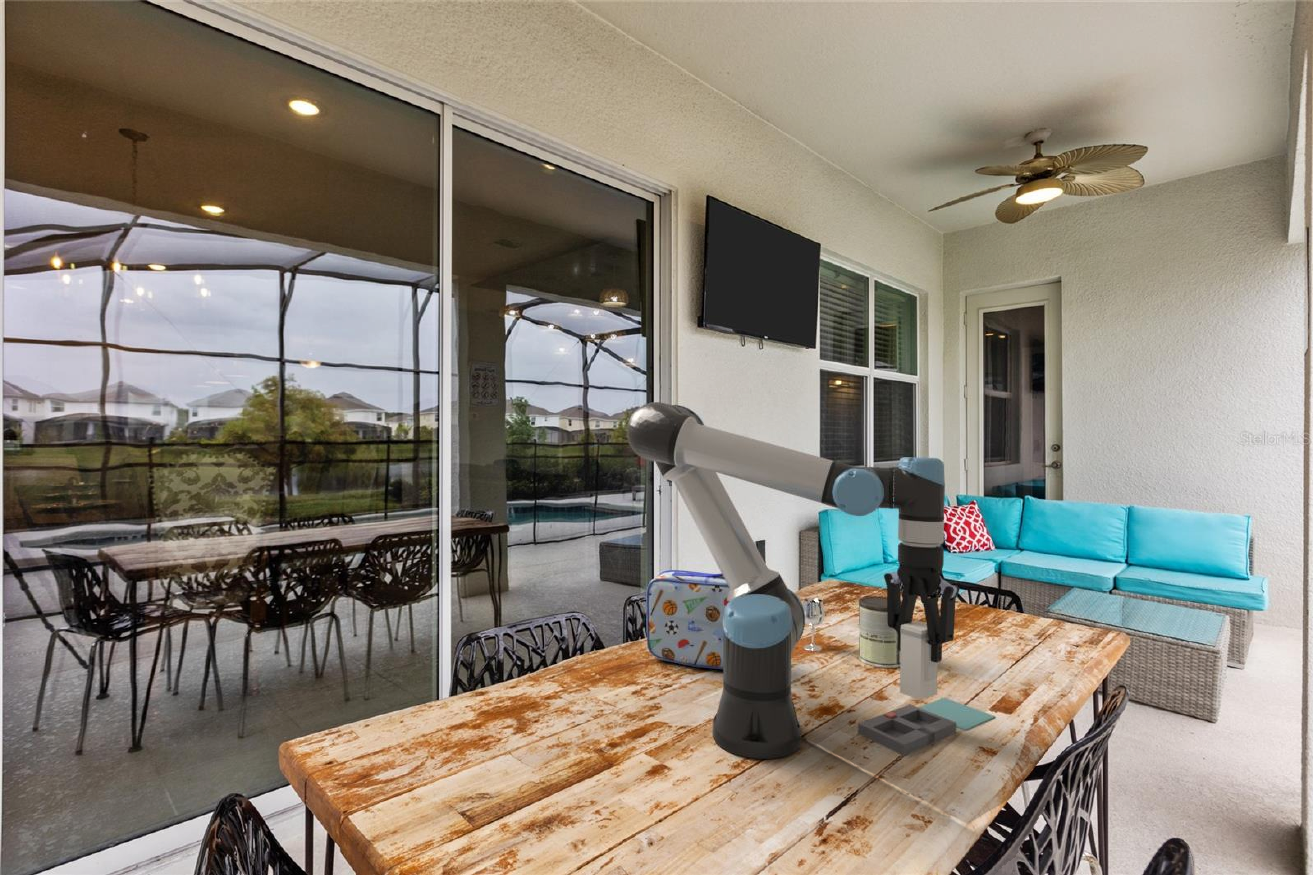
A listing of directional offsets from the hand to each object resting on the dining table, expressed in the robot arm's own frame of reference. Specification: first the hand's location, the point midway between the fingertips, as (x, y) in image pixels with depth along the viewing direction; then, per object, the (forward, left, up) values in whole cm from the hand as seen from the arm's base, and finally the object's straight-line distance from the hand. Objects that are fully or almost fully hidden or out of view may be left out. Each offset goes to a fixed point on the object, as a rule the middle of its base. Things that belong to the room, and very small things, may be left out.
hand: (918, 674), depth 109 cm
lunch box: (-11, +48, -10) cm, 50 cm away
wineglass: (+19, +42, -10) cm, 47 cm away
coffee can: (+26, +27, -10) cm, 39 cm away
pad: (+11, 0, -10) cm, 15 cm away
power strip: (-4, 0, -10) cm, 11 cm away
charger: (0, 0, -3) cm, 3 cm away
